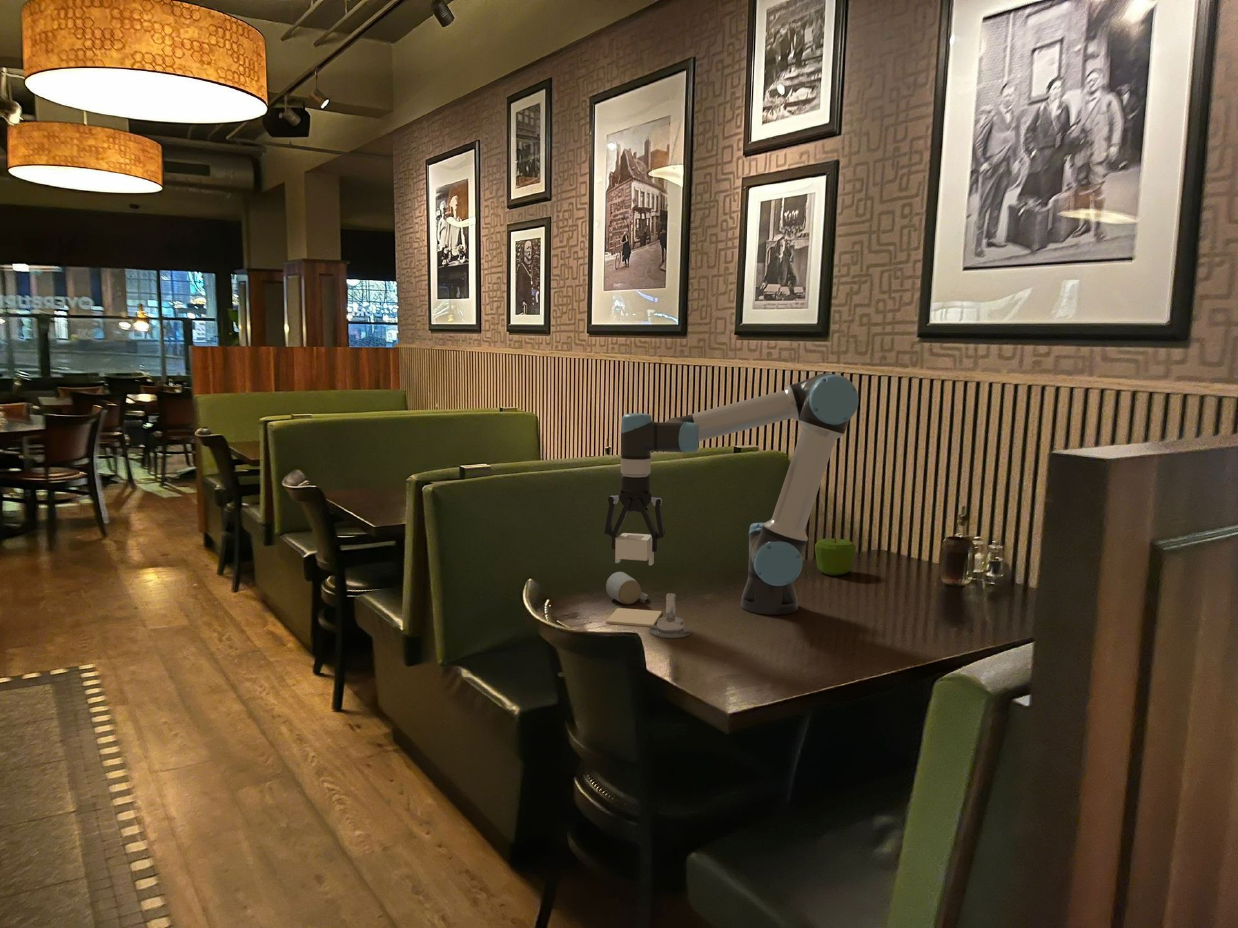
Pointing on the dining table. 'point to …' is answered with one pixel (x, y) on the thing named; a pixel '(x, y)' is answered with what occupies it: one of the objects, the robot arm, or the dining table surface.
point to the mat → (634, 617)
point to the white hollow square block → (633, 546)
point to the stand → (670, 623)
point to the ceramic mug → (624, 588)
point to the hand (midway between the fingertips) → (634, 562)
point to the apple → (834, 556)
